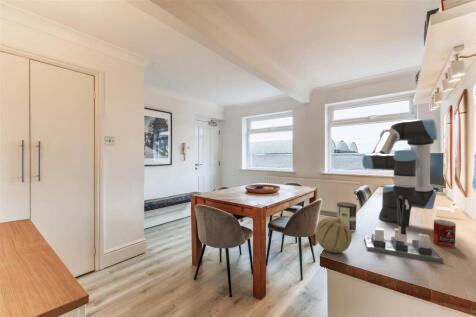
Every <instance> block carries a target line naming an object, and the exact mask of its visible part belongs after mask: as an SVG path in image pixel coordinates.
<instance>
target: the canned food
mask: <svg viewBox="0 0 476 317" xmlns="http://www.w3.org/2000/svg"><path fill="white" fill-rule="evenodd" d="M456 230H457V224H456V222H453V221H450V220H447V219H434V220H433V234H432V237H433V238H432V239H433V240H432V242H433V243H434V244H435V245H437V246H439V247H443V248H448V249H449V248H450V249H452V248H455V245H456V234H457V233H456Z"/></svg>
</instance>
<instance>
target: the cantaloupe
mask: <svg viewBox="0 0 476 317" xmlns="http://www.w3.org/2000/svg"><path fill="white" fill-rule="evenodd" d="M314 235H315V240H316V242H317V243H318V244H319V246H320V247H321V248H322V249H323V250H325V251H327V252H330V253H333V254H337V253H342V252H346V251H347V250H348V248H349V247H350V246H351V242H352V236H353V235H352V231H351V230H350V228H349V227H348V225H347V224H346V223H345V222H344V221H342V220H341V219H338V218H337V217H333V216H331V217H325V218H323V219H321V220H320V221H319V222H318V223H317V225H316V227H315V234H314Z"/></svg>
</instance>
